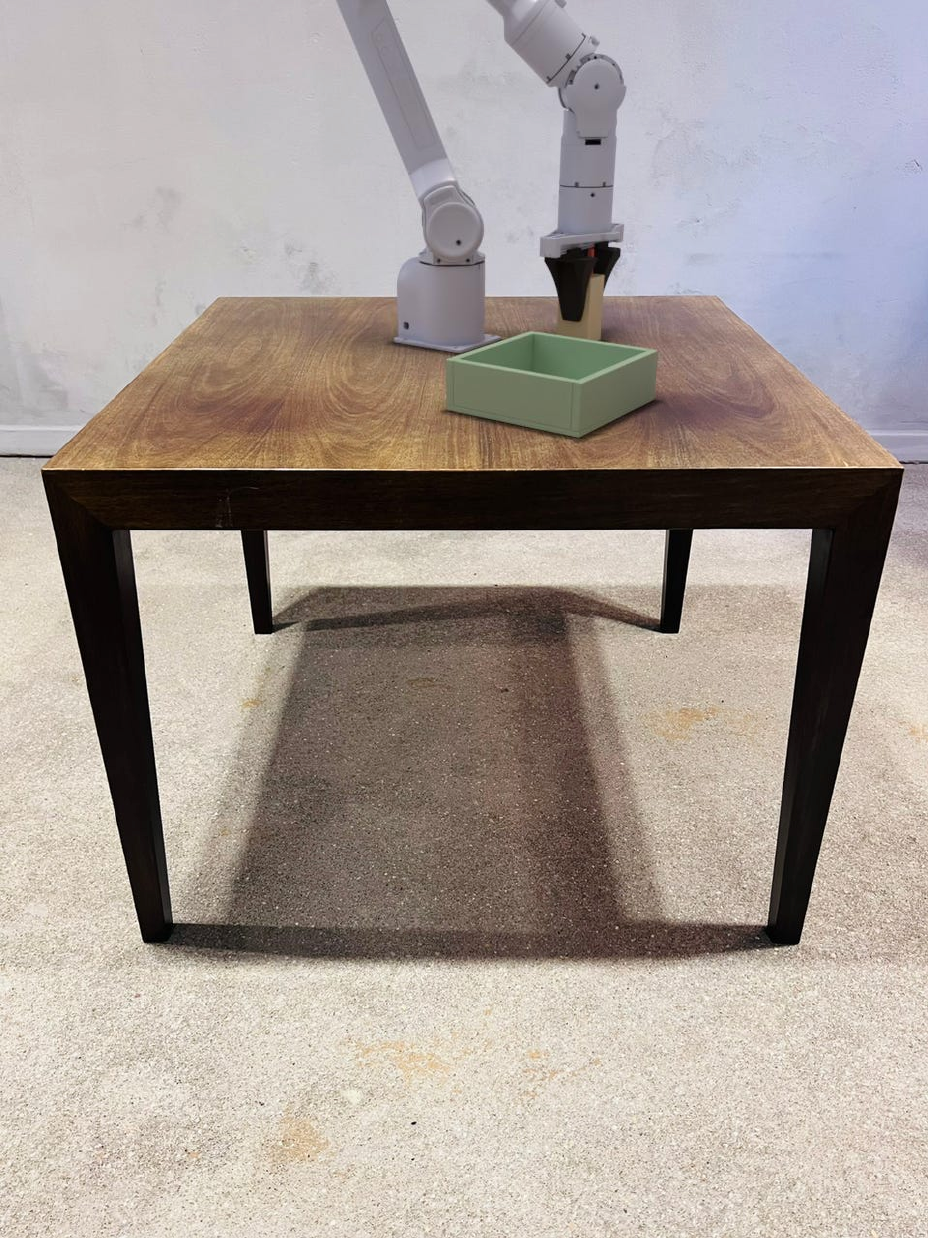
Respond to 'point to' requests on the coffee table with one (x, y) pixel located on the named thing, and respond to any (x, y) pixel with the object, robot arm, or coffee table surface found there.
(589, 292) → the juice box
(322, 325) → the coffee table surface
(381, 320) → the coffee table surface
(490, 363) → the bin
